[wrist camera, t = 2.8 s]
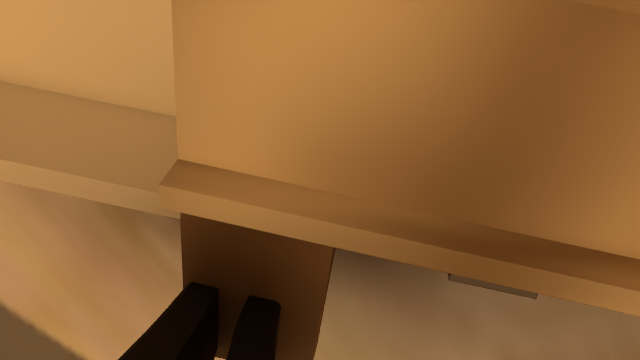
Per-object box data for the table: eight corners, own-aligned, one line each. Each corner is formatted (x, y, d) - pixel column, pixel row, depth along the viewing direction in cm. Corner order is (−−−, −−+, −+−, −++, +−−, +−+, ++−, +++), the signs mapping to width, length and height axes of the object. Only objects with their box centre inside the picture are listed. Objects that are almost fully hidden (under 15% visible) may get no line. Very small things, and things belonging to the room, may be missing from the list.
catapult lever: (1114, 17, 7) (1490, 138, 4) (692, 436, 13) (749, 586, 10) (195, -137, 8) (79, -109, 5) (201, 316, 14) (147, 427, 11)
